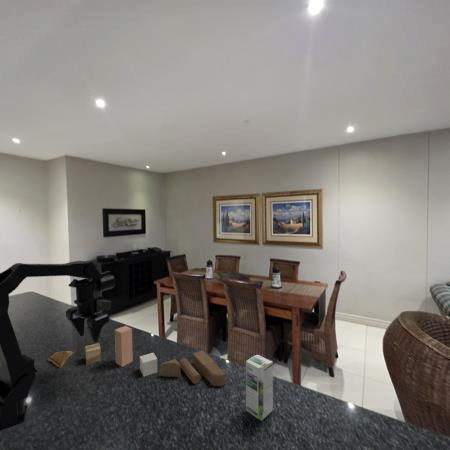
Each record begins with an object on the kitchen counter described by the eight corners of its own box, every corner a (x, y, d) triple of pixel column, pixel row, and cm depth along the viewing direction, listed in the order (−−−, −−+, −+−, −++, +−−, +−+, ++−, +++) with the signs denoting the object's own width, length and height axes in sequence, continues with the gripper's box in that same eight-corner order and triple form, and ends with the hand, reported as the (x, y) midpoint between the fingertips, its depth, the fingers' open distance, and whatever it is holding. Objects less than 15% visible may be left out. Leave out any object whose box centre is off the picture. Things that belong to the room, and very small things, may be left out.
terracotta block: (122, 366, 94) (121, 332, 94) (115, 362, 97) (114, 329, 96) (132, 361, 98) (131, 328, 97) (126, 357, 100) (125, 325, 100)
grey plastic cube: (157, 372, 91) (157, 358, 90) (143, 377, 88) (143, 363, 88) (153, 365, 95) (153, 352, 95) (140, 369, 92) (139, 356, 92)
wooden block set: (201, 346, 98) (226, 369, 83) (201, 360, 98) (226, 386, 83) (159, 359, 89) (178, 388, 74) (159, 375, 89) (179, 406, 74)
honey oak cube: (100, 360, 99) (100, 348, 98) (86, 364, 96) (86, 351, 96) (99, 354, 103) (99, 342, 103) (85, 358, 100) (85, 346, 100)
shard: (60, 369, 94) (60, 365, 93) (38, 372, 92) (38, 367, 92) (73, 354, 104) (73, 350, 104) (53, 356, 103) (53, 351, 103)
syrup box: (245, 410, 72) (244, 361, 71) (258, 400, 76) (257, 353, 75) (261, 422, 67) (260, 369, 67) (273, 410, 72) (273, 360, 71)
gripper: (122, 293, 90) (124, 335, 91) (93, 286, 100) (96, 324, 101) (91, 303, 81) (94, 350, 81) (63, 294, 91) (66, 336, 92)
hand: (88, 338), depth 89 cm, fingers open, 9 cm apart
